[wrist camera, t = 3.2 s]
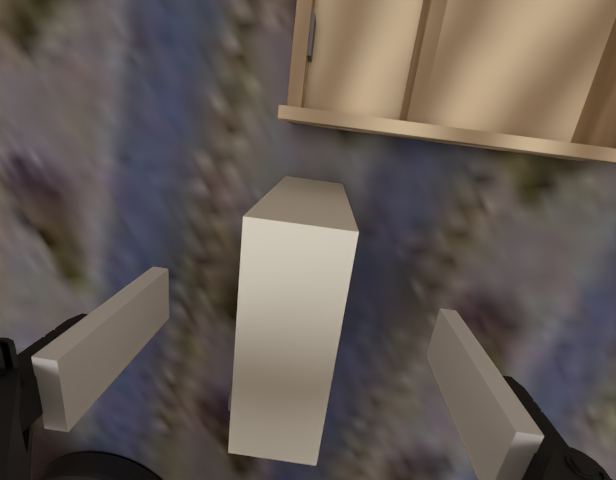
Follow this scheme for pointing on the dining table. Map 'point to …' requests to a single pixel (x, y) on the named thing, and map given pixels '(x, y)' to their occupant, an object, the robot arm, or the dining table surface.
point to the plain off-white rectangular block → (289, 318)
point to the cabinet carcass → (460, 73)
